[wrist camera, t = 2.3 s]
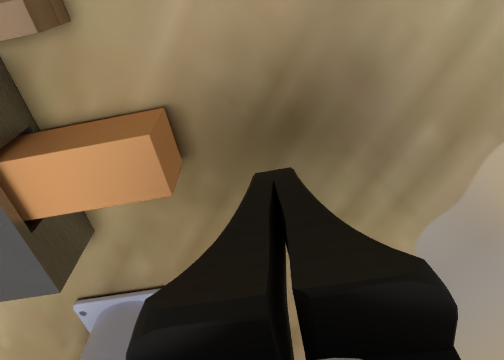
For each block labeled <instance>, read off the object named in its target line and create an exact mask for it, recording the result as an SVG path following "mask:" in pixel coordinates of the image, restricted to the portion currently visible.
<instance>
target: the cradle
mask: <svg viewBox="0 0 504 360" xmlns="http://www.w3.org/2000/svg"><path fill="white" fill-rule="evenodd" d="M69 21H70V18H69V16H68V14H67V11H66V9H65V7H64V4H63V2H62V0H0V41H3V40H7V39H12V38H16V37H21V36H25V35H30V34H34V33H39V32H41V31H44V30H47V29H50V28H52V27H55V26H58V25H60V24H63V23H66V22H69Z"/></svg>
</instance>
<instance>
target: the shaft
mask: <svg viewBox="0 0 504 360" xmlns="http://www.w3.org/2000/svg"><path fill="white" fill-rule="evenodd" d="M181 166H182V160H181V157H180V154H179V151H178V148H177V145H176V142H175V139H174V136H173V133H172V130H171V127H170V124H169V121H168V118H167V115H166V112H165V109H164V108H160V109H155V110H150V111H145V112H139V113H134V114H129V115H124V116H119V117H114V118H108V119H103V120H98V121H93V122H88V123H83V124H77V125H72V126H67V127H62V128H57V129H52V130H46V131H41V132H36V133H31V134H26V135H20V136H16V137H15V138H14V139H12V140H11V141H10V142H9V143H7V144H6V145H5V146H3V147H2V148H1V149H0V186H1V188H2V189H3V191H4V193H5V194H6V196H7V197H8V199H9V200H10V202H11V203H12V205H13V206H14V208H15V209H16V211H17V212H18V214H19V215H20V217H21V218H22V220H23V221H27V220H33V219H39V218H45V217H51V216H57V215H63V214H69V213H74V212H80V211H86V210H92V209H98V208H104V207H110V206H116V205H122V204H127V203H133V202H139V201H145V200H151V199H157V198H163V197H169V196H172V195H173V191H174V188H175V185H176V182H177V179H178V176H179V173H180V169H181Z"/></svg>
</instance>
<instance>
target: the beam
mask: <svg viewBox="0 0 504 360" xmlns="http://www.w3.org/2000/svg"><path fill="white" fill-rule="evenodd" d="M36 132H40V130H39V129H38V127H37V125H36V123H35V121H34V119H33V118H32V116H31V114H30V112H29V110H28V108H27V107H26V105H25V103H24V101H23V99H22V97H21V95H20V94H19V92H18V90H17V88H16V86H15V84H14V83H13V81H12V79H11V77H10V75H9V73H8V72H7V70H6V68H5V66H4V64H3V62H2V61H1V59H0V149H1V148H2V147H3V146H5V145H6V144H7V143H9V142H10V141H11V140H12V139H14V138H15V137H16V136H20V135H26V134H31V133H36ZM93 233H94V230H93V228H92V226H91V224H90V222H89V221H88V219H87V217H86V215H85V213H84V211H80V212H74V213H69V214H63V215H57V216H51V217H45V218H39V219H33V220H27V221H23V220H22V218H21V217H20V215H19V214H18V212H17V211H16V209H15V208H14V206H13V205H12V203H11V202H10V200H9V199H8V197H7V196H6V194H5V193H4V191H3V189H2V188H1V186H0V302H2V301H9V300H16V299H22V298H29V297H36V296H43V295H49V294H56V293H60V292H61V290H62V289H63V287H64V285H65V283H66V281H67V280H68V278H69V276H70V274H71V272H72V271H73V269H74V267H75V265H76V264H77V262H78V260H79V258H80V256H81V255H82V253H83V251H84V249H85V247H86V246H87V244H88V242H89V240H90V238H91V237H92V235H93Z"/></svg>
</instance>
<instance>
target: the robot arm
mask: <svg viewBox="0 0 504 360" xmlns="http://www.w3.org/2000/svg"><path fill="white" fill-rule="evenodd" d="M285 243H286V247H287V250H288V254H289V258H290V269H291V280H292V290H293V295H294V300H295V305H296V310H297V315H298V320H299V326H300V331H301V336H302V341H303V346H304V351H305V357H306V360H461V359H460V357H459V355H458V353H457V351H456V350H455V348H454V340H455V333H456V327H457V320H458V309H457V305H456V303H455V301H454V299H453V298H452V296H451V294H450V292H449V290H448V289H447V287H446V286H445V285H444V283H443V282H442V281H441V279H440V278H439V277H438V276H437V274H436V273H435V272H434V271H433V270H432V268H431V267H430V266H429V265H428V264H427V262H426V261H425V260H424V259H421V258H419V257H416V256H413V255H410V254H407V253H405V252H402V251H399V250H396V249H393V248H391V247H389V246H387V245H384V244H382V243H380V242H378V241H375V240H373V239H371V238H369V237H368V236H366V235H364V234H362V233H361V232H359V231H357V230H355V229H354V228H352V227H351V226H349V225H348V224H346V223H345V222H343V221H342V220H341V219H339V218H338V217H336V216H335V215H334V214H333V213H332V212H330V211H329V210H328V209H327V208H326V207H325V206H324V205H322V204H321V203H320V202H319V201H318V200H317V199H316V198H315V197H314V196H313V194H312V193H311V192H310V191H309V190H308V189H307V188H306V187H305V185H304V184H303V183H302V182H301V180H300V179H299V178H298V176H297V174H296V173H295V171H294V169H292V168H291V167H290V168H284V169H278V170H272V171H267V172H261V173H255V175H254V176H253V178H252V181H251V183H250V186H249V188H248V190H247V192H246V194H245V196H244V198H243V200H242V202H241V204H240V206H239V207H238V209H237V211H236V212H235V214H234V216H233V217H232V219H231V220H230V222H229V224H228V225H227V226H226V228H225V229H224V231H223V232H222V233H221V235H220V236H219V237H218V238H217V240H216V241H215V242H214V243H213V244H212V245H211V246H210V247H209V248H208V249H207V250H206V251H205V253H204V254H203V255H202V256H201V257H200V258H199V259H198V260H197V261H195V262H194V263H193V264H192V265H191V266H190V267H189V268H188V269H186V270H185V271H184V272H183V273H181V274H180V275H179V276H178V277H177V278H175V279H174V280H173V281H171V282H170V283H168V284H167V285H166V286H164V287H163V288H161V289H154V290H147V291H140V292H133V293H126V294H119V295H113V296H106V297H99V298H92V299H85V300H79V301H76V302H75V304H74V306H73V309H74V311H75V312H76V314H77V315H78V317H79V318H80V320H81V321H82V323H83V324H84V325H85V327H86V328H87V330H88V331H89V333H90V336H89V338H88V340H87V343H86V345H85V348H84V350H83V352H82V355H81V357H80V359H79V360H294V354H293V347H292V339H291V331H290V323H289V315H288V307H287V287H286V248H285Z"/></svg>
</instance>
